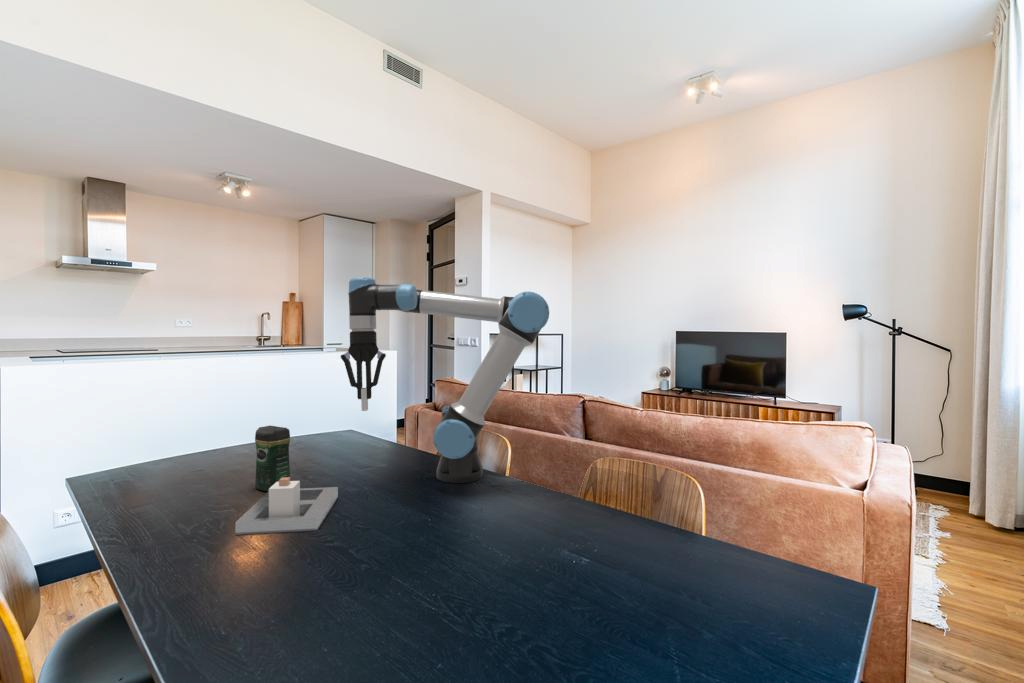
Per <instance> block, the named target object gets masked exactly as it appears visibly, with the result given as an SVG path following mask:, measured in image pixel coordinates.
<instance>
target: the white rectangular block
mask: <svg viewBox="0 0 1024 683" xmlns="http://www.w3.org/2000/svg"><path fill="white" fill-rule="evenodd" d="M300 489H301V481H300V480H291V476H290V477H285V478H281V479H280V480H279V482H276V483H275V484H274V485H273V486H271V487H270V488H269V491H268V492H269V518H280V517H299V516H300Z"/></svg>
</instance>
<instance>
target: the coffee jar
mask: <svg viewBox="0 0 1024 683" xmlns="http://www.w3.org/2000/svg"><path fill="white" fill-rule="evenodd" d="M290 441H291V434H290V429H289V428H288V427H283V426H275V425H266V426H260V427H258V428H257V429H256V431H255V436H254V442H255V448H256V463H255V481H254V482H255V485H254V486H255V488H256V489H257V490H260V491H265V492H269V488H270V487H271V486H273V485H274V484H275V483H276V482H279V480H280V479H281V478H285V477H290V478H291V469H290V451H289V450H290V447H289V446H290Z"/></svg>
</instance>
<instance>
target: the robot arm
mask: <svg viewBox="0 0 1024 683" xmlns="http://www.w3.org/2000/svg"><path fill="white" fill-rule="evenodd" d="M347 294H348V307H349V308H348V309H349V310H348V311H349V314H348V319H349V321H348V322H349V324H348V325H349V330H351V331H350V332H349V346H348V349H347V351H346V352H345V353H344V354H341V355H340V359H341V360H342V362H343V363H344V366H345V371H346V374H347V377H348V380H349V384H350V387H351V388H356V390H357V392H356V394H357V400H360V401H361V412H366V411H368V410H369V400H370V399H371V398H372V388H373V387H376V386H377V385H378V383H379V379H380V375H381V370H382V366H383V361H384V360H385V359H386V357H387V354H386V353H384V352H382V351H380V350H379V347H378V342H377V331H375V330H377V311H398V312H399V311H400V312H404V313H413V314H423V315H424V314H425V315H433V316H439V317H440V316H441V317H450V318H458V319H467V320H474V321H485V322H491V323H492V322H493V323H497V324H498V329H499V333H498V334H497V336H496V338H495V339H494V341H493V343H492V344H491V346H490V348H489V349H488V351H487V353H486V355H484V358H483V360H482V361H481V363H480V365H479V366H478V368H477V370H476V371H475V373H474V375H473V377H472V379H471V380H470V382H469V384H468V385H467V387H466V389H465V390H464V392H463V394H462V395H461V397H460V398H459V400H458V401H456V402H452V403H451V404H450V405H445V406H443V407H442V408H441V413H440V414H441V421H440V422H439V424H437V426H436V427H435V429H434V432H433V445H434V447H435V449H436V451H437V452H438V453H439V454H440V458H439V461H438V464H437V467H436V475H435V476H436V479H437V480H439V481H441V482H444V483H451V484H465V483H473V482H475V481H478V480H480V479H482V478H483V475H484V468H483V465H482V462H481V458H480V456H479V452H478V451H479V449H478V446H479V435H480V433H481V431H482V429H483V428H484V426H485V425H486V422H485V415H486V414H487V411H488V410H489V408H490V407H491V406H492V403H493V401H494V399H495V398H496V396H497V395H498V392H499V391H500V389H501V388H502V386H503V384H504V383H505V381H506V379H507V377H508V376H509V374H510V372H511V371H512V369H513V368H514V365H515V364H516V362H517V360H519V358H520V355H521V354H522V352H523V350H524V348H526V347H529V346H532V345H533V344H534V342H535V341H536V339H537V337H538V335H539V333H540V332H541V330H542V329H543V328H544V327H545V326H546V325H547V323H548V321H549V318H550V308H549V304H548V303H547V301H546V300H545V298H544V297H543V296H541V295H540V294H539V293H537V292H533V291H523V292H520V293H518V294H516V295H515V296H505V295H504V296H502V297H501V298H496V297H495V298H494V297H487V296H486V297H485V296H476V295H467V294H458V293H449V292H442V291H432V290H424V289H417V288H416V286H415V284H409V283H408V284H407V283H406V284H405V283H400V284H377V283H376V279H375V278H373V277H362V276H361V277H359V276H358V277H352V278H350V280H349V281H348V292H347ZM376 355H377V356H376ZM375 356H376V358H377V363H376V366H375V372H374V374H373V375H374V376H373V379H372V361H373V360H374V358H375ZM351 357H352V359H353V360H354V361H355V364H356V377H355V374H354V371H353V367H352V365H351V364H352V363H351V361H350V359H351ZM363 362H364V363H365V364H364V365H365V387H363ZM372 380H373V381H372Z"/></svg>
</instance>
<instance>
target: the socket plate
mask: <svg viewBox="0 0 1024 683" xmlns="http://www.w3.org/2000/svg"><path fill="white" fill-rule="evenodd" d="M338 498H339V486H330V487H328V486H325V487H305V488H301V487H300V516H299V517H280V518H269V491H266V493H265V494H263V496H261V498H260V499H259V500H258V501H256V503H255V504H254V505H252V506H251V507H250V508H249V509H248V510H246V512H245V513H243V515H242V516H240V517H239V519H237V520H236V521H235V536H240V535H241V536H242V535H244V536H245V535H257V534H258V535H260V534H276V533H277V534H279V533H280V534H281V533H296V532H299V533H300V532H313V531H314V532H315V531H319V528H320V527H321V525H323V522H324V520H325V519H326V517H327V515H328V514H329V513H330V511H331V509H332V508H333V506H334V505H335V503H336V501H337V499H338Z"/></svg>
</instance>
